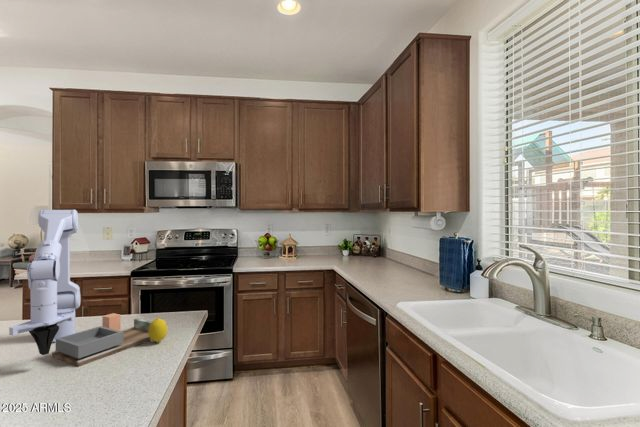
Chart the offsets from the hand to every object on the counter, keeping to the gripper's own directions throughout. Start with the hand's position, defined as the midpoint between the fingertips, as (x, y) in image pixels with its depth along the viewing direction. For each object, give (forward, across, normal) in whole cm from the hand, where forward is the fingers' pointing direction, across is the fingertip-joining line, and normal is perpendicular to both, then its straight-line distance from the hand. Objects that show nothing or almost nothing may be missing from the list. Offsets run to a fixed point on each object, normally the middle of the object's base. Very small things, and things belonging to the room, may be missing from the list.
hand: (44, 353), depth 95 cm
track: (+4, +18, 0) cm, 19 cm away
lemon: (+4, +27, -11) cm, 29 cm away
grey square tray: (+3, +12, 0) cm, 12 cm away
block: (+4, +26, +12) cm, 29 cm away
